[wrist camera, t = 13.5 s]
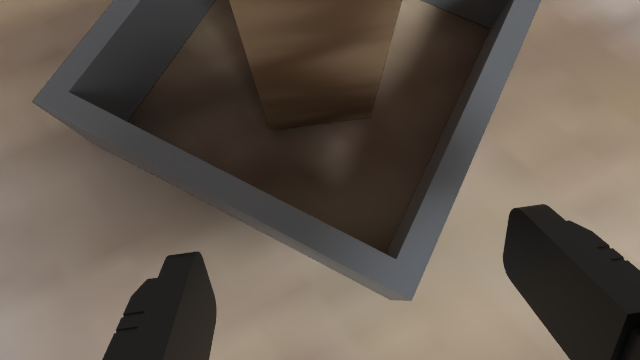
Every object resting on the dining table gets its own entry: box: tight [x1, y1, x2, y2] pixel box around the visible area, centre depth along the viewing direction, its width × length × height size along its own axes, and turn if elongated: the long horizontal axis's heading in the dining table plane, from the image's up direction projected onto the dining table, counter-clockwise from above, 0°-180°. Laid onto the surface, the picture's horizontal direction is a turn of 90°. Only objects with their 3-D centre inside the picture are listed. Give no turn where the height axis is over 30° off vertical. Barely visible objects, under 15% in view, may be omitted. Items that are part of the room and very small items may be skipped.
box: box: [32, 0, 541, 301], centre depth 18 cm, size 16×16×4 cm
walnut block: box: [229, 0, 402, 131], centre depth 15 cm, size 5×5×11 cm
